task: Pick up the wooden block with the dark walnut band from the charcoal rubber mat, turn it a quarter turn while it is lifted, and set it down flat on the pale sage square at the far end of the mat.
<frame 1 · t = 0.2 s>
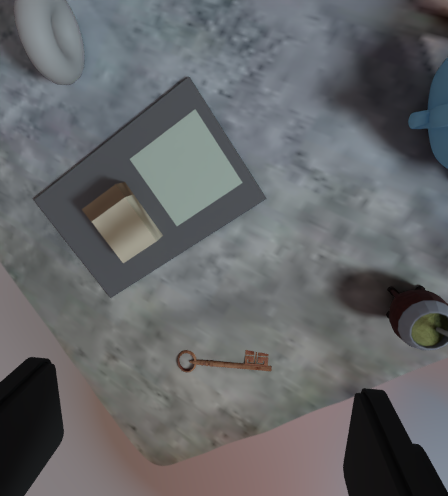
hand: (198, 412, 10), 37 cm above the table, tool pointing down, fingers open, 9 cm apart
wooden block: (108, 194, 46), point 1 cm above the table, touching mat
mate gourd: (407, 299, 47), on the table
key: (224, 356, 53), on the table
mat: (146, 198, 46), on the table
donut: (77, 49, 42), on the table
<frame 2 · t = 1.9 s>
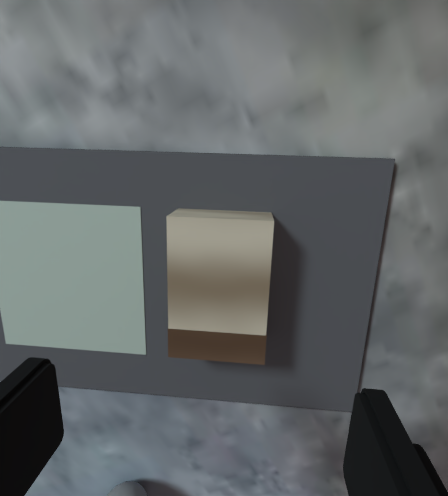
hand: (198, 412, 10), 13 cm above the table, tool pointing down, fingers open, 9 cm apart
wooden block: (220, 335, 24), point 1 cm above the table, touching mat
mat: (166, 283, 23), on the table
donut: (126, 490, 29), on the table
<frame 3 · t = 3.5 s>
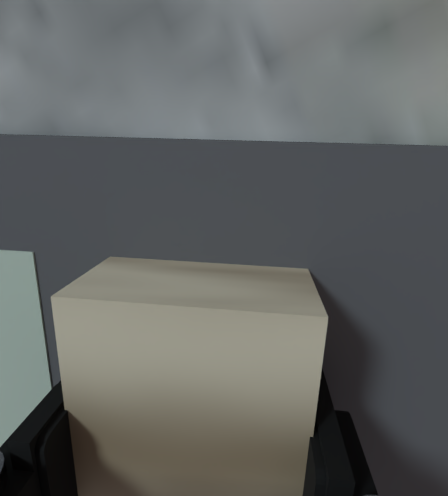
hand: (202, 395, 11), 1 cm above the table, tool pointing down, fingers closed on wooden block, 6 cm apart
wooden block: (202, 490, 12), point 1 cm above the table, touching gripper, mat
mat: (99, 391, 12), on the table
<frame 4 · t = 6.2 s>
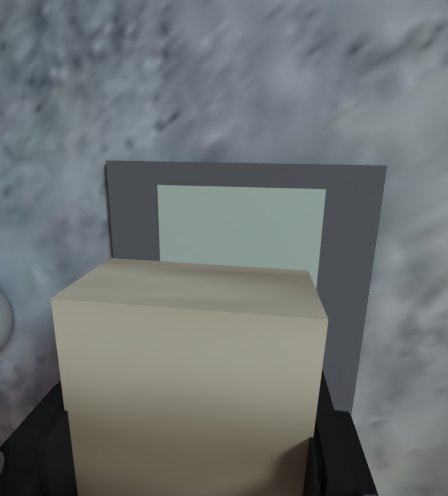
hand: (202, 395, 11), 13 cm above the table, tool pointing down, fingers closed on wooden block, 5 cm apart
wooden block: (202, 492, 12), point 13 cm above the table, touching gripper
mat: (235, 351, 25), on the table
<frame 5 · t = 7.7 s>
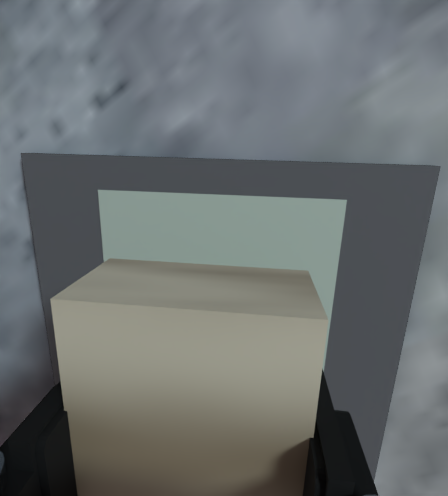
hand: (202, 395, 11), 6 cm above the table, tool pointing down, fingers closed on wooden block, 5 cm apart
wooden block: (202, 492, 12), point 6 cm above the table, touching gripper
mat: (214, 415, 19), on the table
when the fingers open (2 cm above the table, at t = 8.9 s): wooden block drops 1 cm, resting on mat.
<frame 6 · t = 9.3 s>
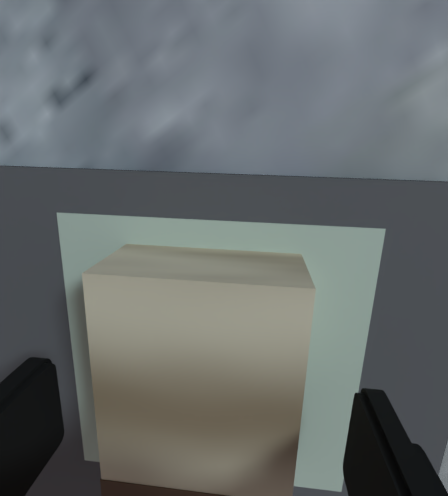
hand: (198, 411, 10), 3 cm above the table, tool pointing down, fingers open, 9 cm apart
wooden block: (207, 457, 14), point 1 cm above the table, touching mat
mat: (209, 489, 15), on the table
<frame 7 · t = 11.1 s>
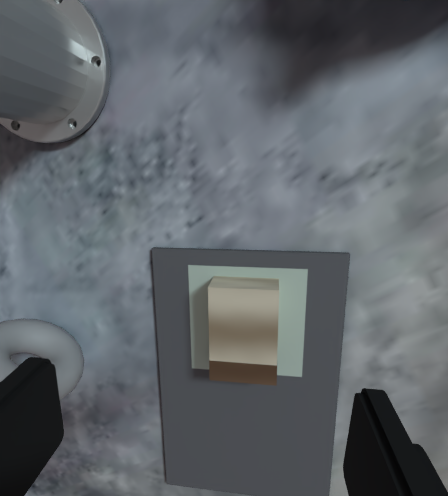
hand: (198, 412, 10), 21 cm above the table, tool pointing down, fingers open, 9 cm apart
wooden block: (245, 363, 33), point 1 cm above the table, touching mat
mat: (245, 382, 34), on the table
donut: (63, 333, 36), on the table
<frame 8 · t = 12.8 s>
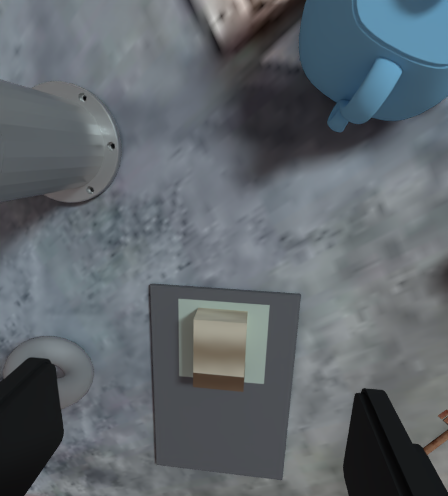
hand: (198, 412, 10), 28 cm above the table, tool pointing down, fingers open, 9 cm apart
decorative pot: (380, 32, 31), on the table
wooden block: (220, 373, 42), point 1 cm above the table, touching mat
key: (426, 436, 43), on the table
mat: (221, 386, 43), on the table
donut: (75, 346, 44), on the table
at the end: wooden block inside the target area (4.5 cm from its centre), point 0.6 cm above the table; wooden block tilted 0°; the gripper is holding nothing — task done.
